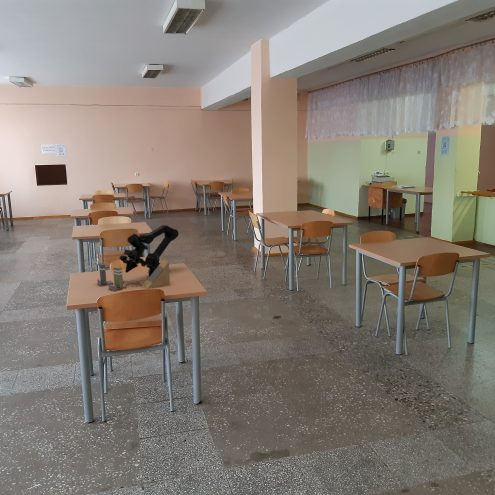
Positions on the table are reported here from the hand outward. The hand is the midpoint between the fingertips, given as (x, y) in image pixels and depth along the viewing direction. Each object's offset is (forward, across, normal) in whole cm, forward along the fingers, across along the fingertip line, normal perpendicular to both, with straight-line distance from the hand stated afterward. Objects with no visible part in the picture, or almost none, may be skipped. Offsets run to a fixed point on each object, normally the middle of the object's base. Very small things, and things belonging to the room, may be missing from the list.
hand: (126, 272), depth 291 cm
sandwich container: (0, +15, +13) cm, 20 cm away
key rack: (+11, -6, +2) cm, 13 cm away
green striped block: (+10, 0, +1) cm, 10 cm away
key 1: (+9, -15, +1) cm, 17 cm away
